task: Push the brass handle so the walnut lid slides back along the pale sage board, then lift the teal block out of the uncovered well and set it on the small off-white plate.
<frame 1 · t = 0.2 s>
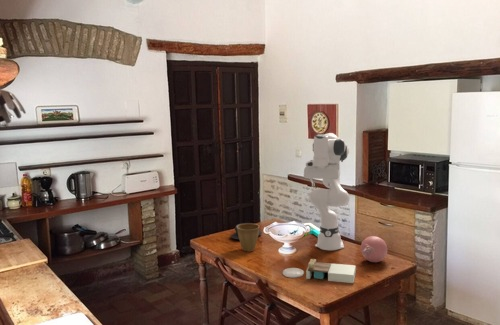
hand: (321, 186, 260), 47 cm above the table, tool pointing down, fingers open, 8 cm apart
board: (319, 275, 251), on the table
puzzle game: (299, 234, 328), on the table
plant pot: (248, 250, 297), on the table
casserole: (246, 237, 325), on the table
lid: (319, 265, 249), point 6 cm above the table, slide at 0.0 cm
pink round piece: (371, 262, 267), on the table
plate: (293, 273, 255), on the table
block: (319, 276, 249), on the table
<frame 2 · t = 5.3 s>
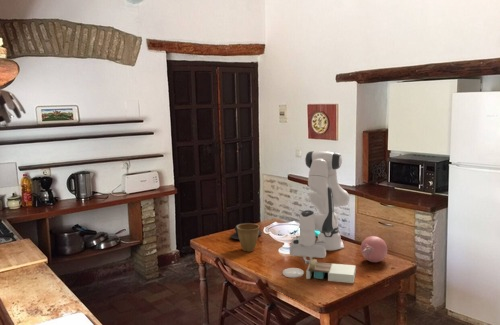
hand: (307, 263, 251), 7 cm above the table, tool pointing down, fingers closed
lid: (320, 265, 249), point 6 cm above the table, slide at 0.5 cm, touching gripper
everything else where it was.
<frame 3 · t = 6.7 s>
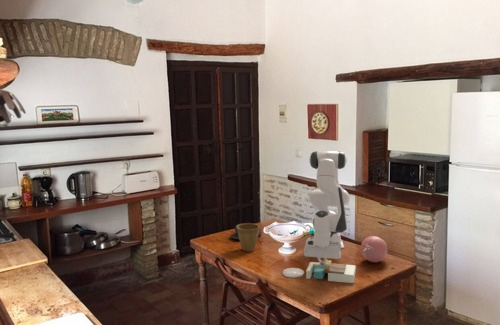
hand: (322, 264, 249), 7 cm above the table, tool pointing down, fingers closed
lid: (335, 266, 247), point 6 cm above the table, slide at 8.6 cm, touching gripper
everything else where it was.
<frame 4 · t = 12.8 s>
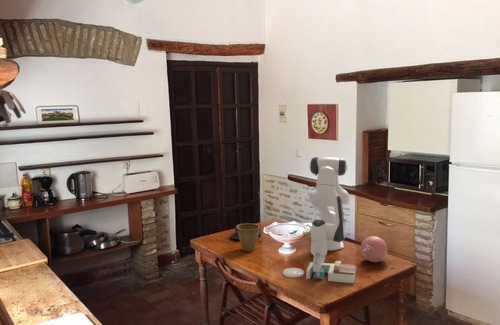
hand: (319, 273, 249), 2 cm above the table, tool pointing down, fingers closed on block, 5 cm apart
lid: (344, 267, 245), point 6 cm above the table, slide at 13.9 cm
block: (319, 276, 249), on the table, touching gripper
everything else where it was.
when the fingers open (4 cm above the table, at t = 18.2 s): block drops 1 cm, resting on plate.
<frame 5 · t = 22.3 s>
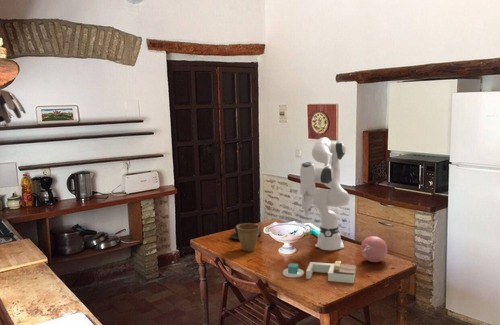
hand: (308, 213, 264), 31 cm above the table, tool pointing down, fingers open, 8 cm apart
block: (293, 271, 255), point 1 cm above the table, touching plate
everything else where it was.
at the end: lid slide at 13.9 cm; block inside the target area on the plate (0.1 cm from its centre), point 1.0 cm above the plate's base; block tilted 0° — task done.
